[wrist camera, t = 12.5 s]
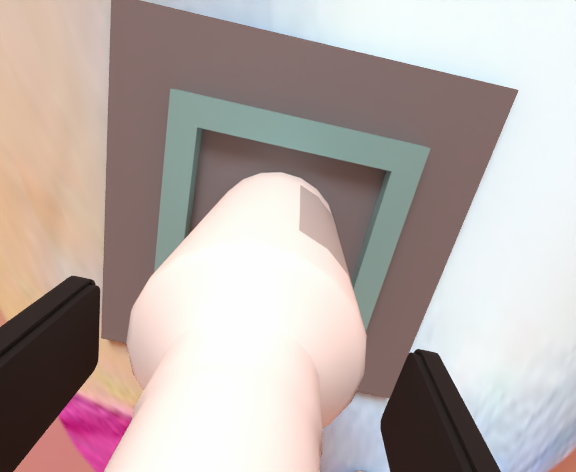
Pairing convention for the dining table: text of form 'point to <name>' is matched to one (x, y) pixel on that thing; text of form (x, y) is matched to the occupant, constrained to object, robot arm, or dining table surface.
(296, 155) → the dock
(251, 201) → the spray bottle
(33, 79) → the dining table surface
